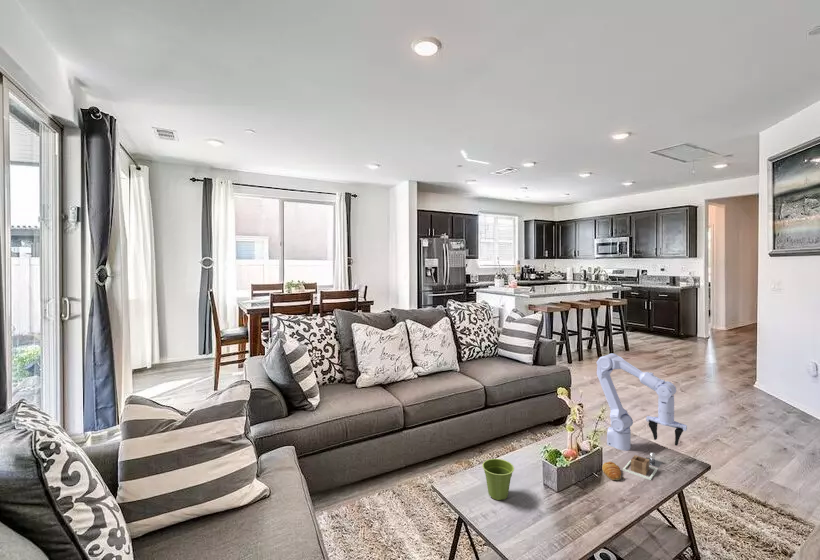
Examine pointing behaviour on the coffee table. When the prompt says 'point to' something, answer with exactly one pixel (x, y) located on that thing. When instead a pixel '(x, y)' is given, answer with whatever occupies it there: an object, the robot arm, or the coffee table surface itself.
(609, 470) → the pastry
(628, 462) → the tray
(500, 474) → the plant pot
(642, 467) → the brown framed cube
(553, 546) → the coffee table surface
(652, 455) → the grey base with peg
